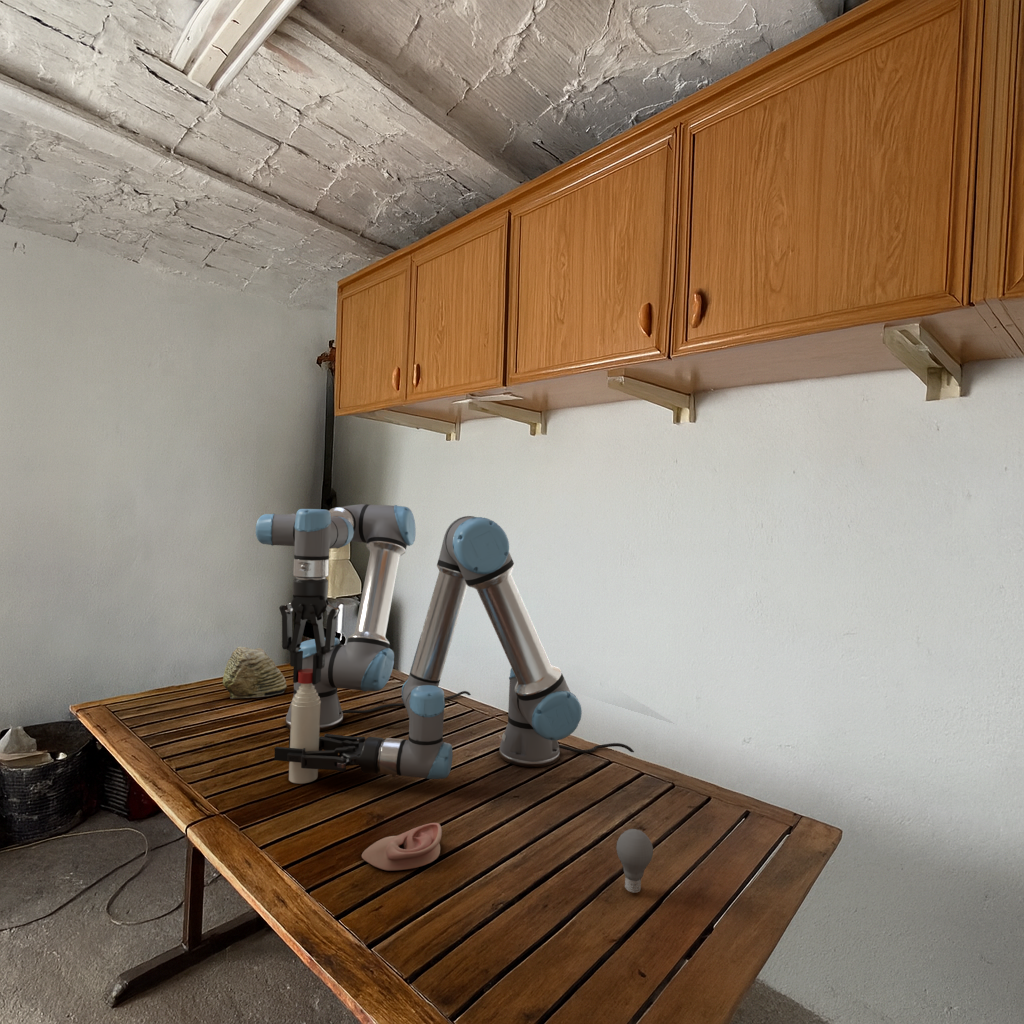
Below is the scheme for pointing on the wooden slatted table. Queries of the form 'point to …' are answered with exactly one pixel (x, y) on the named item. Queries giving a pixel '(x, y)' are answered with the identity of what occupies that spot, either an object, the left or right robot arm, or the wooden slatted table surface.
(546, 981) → the wooden slatted table surface
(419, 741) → the right robot arm
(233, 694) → the fossil
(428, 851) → the anatomical model
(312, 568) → the left robot arm
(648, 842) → the light bulb
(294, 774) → the bottle
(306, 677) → the cap
